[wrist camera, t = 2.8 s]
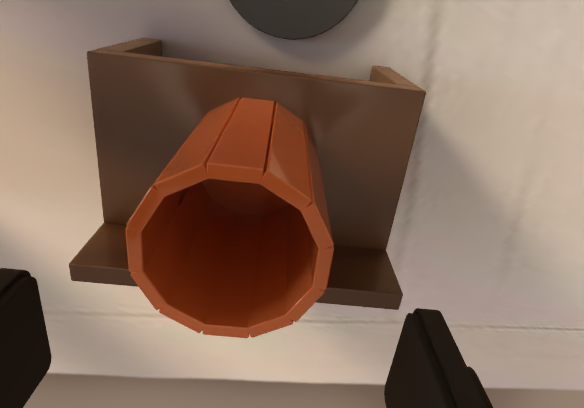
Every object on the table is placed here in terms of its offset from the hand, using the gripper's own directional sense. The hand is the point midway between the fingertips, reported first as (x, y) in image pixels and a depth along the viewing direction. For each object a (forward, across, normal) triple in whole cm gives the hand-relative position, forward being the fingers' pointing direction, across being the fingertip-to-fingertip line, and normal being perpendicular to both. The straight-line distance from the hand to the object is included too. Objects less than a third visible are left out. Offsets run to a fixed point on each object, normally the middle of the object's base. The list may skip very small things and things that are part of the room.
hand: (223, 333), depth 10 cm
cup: (+12, 0, 0) cm, 12 cm away
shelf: (+20, 0, 0) cm, 20 cm away
